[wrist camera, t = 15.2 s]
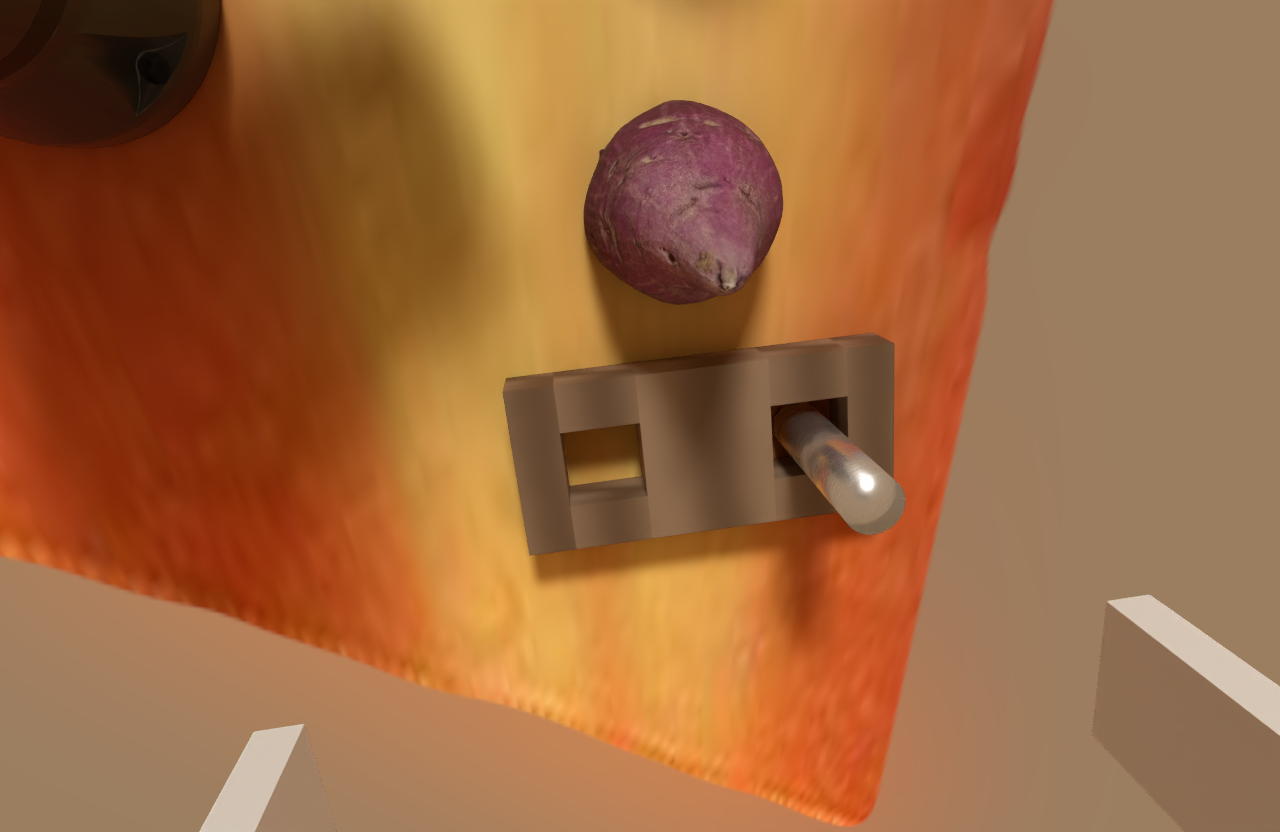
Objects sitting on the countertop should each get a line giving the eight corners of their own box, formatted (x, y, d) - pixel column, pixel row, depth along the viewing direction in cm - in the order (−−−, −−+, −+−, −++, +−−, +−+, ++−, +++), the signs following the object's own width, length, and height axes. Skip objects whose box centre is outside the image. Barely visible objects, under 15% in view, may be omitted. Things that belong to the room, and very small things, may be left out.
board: (531, 532, 47) (529, 555, 44) (506, 378, 43) (502, 392, 41) (873, 485, 48) (893, 504, 45) (873, 332, 45) (894, 343, 42)
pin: (773, 450, 47) (843, 539, 35) (771, 404, 46) (842, 480, 34) (820, 443, 47) (905, 529, 35) (819, 398, 46) (905, 471, 35)
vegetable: (738, 279, 46) (845, 405, 34) (572, 277, 44) (622, 411, 32) (771, 98, 41) (912, 171, 29) (584, 84, 38) (650, 156, 26)
